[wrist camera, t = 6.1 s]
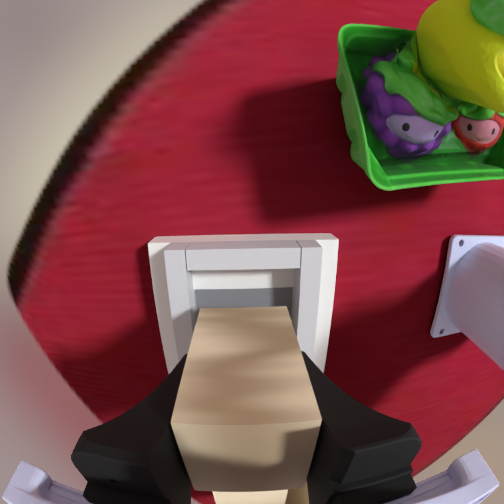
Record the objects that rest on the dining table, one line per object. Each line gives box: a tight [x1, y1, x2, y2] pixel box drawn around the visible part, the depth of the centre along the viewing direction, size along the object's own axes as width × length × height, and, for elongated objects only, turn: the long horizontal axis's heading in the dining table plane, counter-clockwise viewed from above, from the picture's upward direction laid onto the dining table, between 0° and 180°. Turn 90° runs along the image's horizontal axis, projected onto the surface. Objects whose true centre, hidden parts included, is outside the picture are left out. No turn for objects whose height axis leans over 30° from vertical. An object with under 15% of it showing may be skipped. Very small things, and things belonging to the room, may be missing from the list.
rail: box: [148, 233, 339, 504], centre depth 14 cm, size 10×16×8 cm, turn 1°
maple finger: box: [171, 306, 322, 492], centre depth 11 cm, size 4×5×7 cm
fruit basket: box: [336, 0, 504, 191], centre depth 9 cm, size 11×9×11 cm
